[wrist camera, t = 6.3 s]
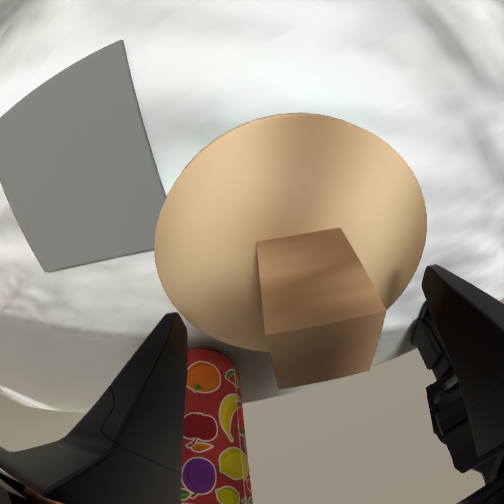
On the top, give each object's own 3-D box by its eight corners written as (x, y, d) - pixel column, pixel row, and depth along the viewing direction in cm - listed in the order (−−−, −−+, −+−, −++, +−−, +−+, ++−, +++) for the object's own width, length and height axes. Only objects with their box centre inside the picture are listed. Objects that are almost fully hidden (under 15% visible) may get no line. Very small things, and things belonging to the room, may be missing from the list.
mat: (123, 40, 9) (120, 39, 9) (181, 240, 16) (180, 243, 15) (-13, 131, 10) (-16, 132, 9) (46, 270, 17) (45, 272, 16)
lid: (420, 108, 8) (523, 147, 3) (396, 313, 14) (429, 386, 10) (121, 152, 8) (36, 220, 4) (205, 348, 14) (200, 431, 10)
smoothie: (202, 391, 26) (198, 560, 10) (140, 356, 23) (113, 557, 6) (266, 368, 24) (282, 571, 7) (203, 324, 20) (193, 594, 3)
